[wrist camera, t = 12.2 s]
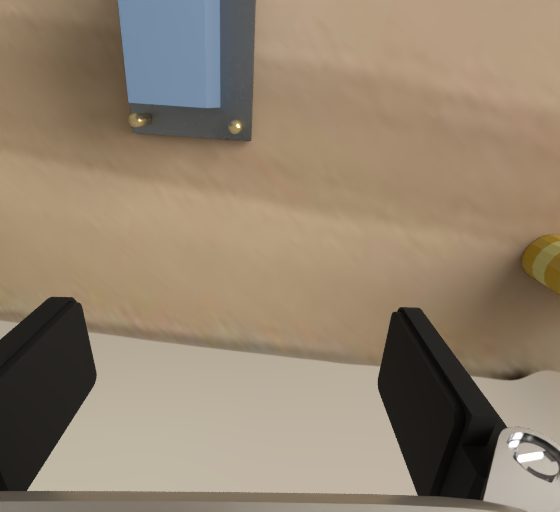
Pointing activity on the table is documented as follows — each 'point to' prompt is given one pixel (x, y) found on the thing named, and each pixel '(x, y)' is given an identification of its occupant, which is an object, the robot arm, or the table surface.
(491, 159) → the table surface
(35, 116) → the table surface
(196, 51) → the blue block
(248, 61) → the dowel plate
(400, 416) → the robot arm
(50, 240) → the table surface
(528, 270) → the book
